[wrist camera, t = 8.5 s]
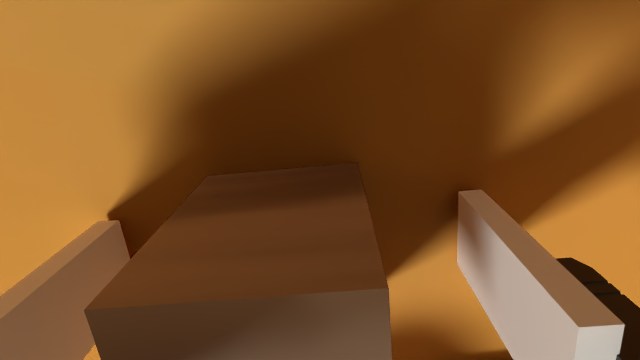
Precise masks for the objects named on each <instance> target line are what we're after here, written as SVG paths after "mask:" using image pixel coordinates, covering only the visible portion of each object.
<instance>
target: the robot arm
mask: <svg viewBox="0 0 640 360" xmlns="http://www.w3.org/2000/svg"><path fill="white" fill-rule="evenodd" d="M129 260H130V256H129V253H128V249H127V246H126V243H125V239H124V236H123V232H122V229H121V225H120V222H119V220H112V221H101V222H97V223H95V224H94V225H93V226H91V227H90V228H89V229H88V230H86V231H85V232H84V233H82V234H81V235H80V236H78V237H77V238H76V239H75V240H73V241H72V242H71V243H69V244H68V245H67V246H65V247H64V248H63V249H61V250H60V251H59V252H58V253H56V254H55V255H54V256H52V257H51V258H50V259H48V260H47V261H46V262H45V263H43V264H42V265H41V266H39V267H38V268H37V269H35V270H34V271H33V272H32V273H30V274H29V275H28V276H26V277H25V278H24V279H22V280H21V281H20V282H19V283H17V284H16V285H15V286H13V287H12V288H11V289H9V290H8V291H7V292H5V293H4V294H3V295H2V296H0V360H83V359H84V357H85V356H86V355H87V354H88V352H89V351H90V350H91V348H92V347H93V346H94V345H95V341H94V338H93V335H92V332H91V330H90V327H89V324H88V321H87V318H86V315H85V313H84V309H85V308H86V307H87V306H88V305H89V304H90V303H91V302H92V301H93V299H94V298H95V297H96V296H97V295H98V294H99V293H100V292H101V291H102V290H103V289H104V287H105V286H106V285H107V284H108V283H109V282H110V281H111V280H112V279H113V278H114V277H115V276H116V274H117V273H118V272H119V271H120V270H121V269H122V268H123V267H124V266H125V265H126V264H127V262H128V261H129ZM457 264H458V266H459V268H460V270H461V271H462V273H463V275H464V276H465V278H466V280H467V282H468V283H469V285H470V287H471V288H472V290H473V292H474V293H475V295H476V297H477V299H478V300H479V302H480V304H481V305H482V307H483V309H484V310H485V312H486V314H487V316H488V317H489V319H490V321H491V322H492V324H493V326H494V328H495V329H496V331H497V333H498V334H499V336H500V338H501V339H502V341H503V343H504V345H505V346H506V348H507V350H508V351H509V353H510V355H511V356H512V358H513V360H640V308H639V307H638V306H637V305H635V304H634V303H633V302H632V301H631V300H630V299H628V298H627V297H626V296H625V295H624V294H623V295H621V293H620V291H619V290H618V289H617V288H615V287H614V286H613V285H612V284H611V283H608V282H607V280H606V279H605V278H604V277H602V276H601V275H600V274H599V273H598V272H596V271H595V270H594V269H593V268H591V267H589V266H587V265H585V264H583V263H581V262H579V261H577V260H575V259H573V258H558V259H555V258H554V257H553V256H552V255H551V254H550V253H549V252H548V251H547V250H546V249H544V248H543V247H542V246H541V245H540V244H539V243H538V242H537V241H536V240H535V239H534V238H533V237H532V236H531V235H530V234H529V233H528V232H526V231H525V230H524V229H523V228H522V227H521V226H520V225H519V224H518V223H517V222H516V221H515V220H514V219H513V218H512V217H511V216H510V215H508V214H507V213H506V212H505V211H504V210H503V209H502V208H501V207H500V206H499V205H498V204H497V203H496V202H495V201H494V200H493V199H492V198H490V197H489V196H488V195H487V194H486V193H485V192H484V191H483V190H482V189H480V190H469V191H458V248H457Z"/></svg>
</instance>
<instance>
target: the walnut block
mask: <svg viewBox="0 0 640 360" xmlns="http://www.w3.org/2000/svg"><path fill="white" fill-rule="evenodd" d="M84 313H85V315H86V318H87V321H88V324H89V327H90V330H91V332H92V335H93V338H94V341H95V344H96V347H97V350H98V352H99V355H100V358H101V360H392V347H391V327H390V307H389V288H388V284H387V280H386V276H385V272H384V268H383V263H382V259H381V255H380V251H379V247H378V243H377V239H376V235H375V231H374V227H373V223H372V219H371V215H370V210H369V206H368V202H367V198H366V194H365V190H364V186H363V182H362V178H361V174H360V170H359V166H358V163H346V164H335V165H324V166H313V167H301V168H290V169H279V170H268V171H256V172H245V173H234V174H223V175H211V176H207V177H206V178H205V179H204V180H203V181H202V182H201V183H200V184H199V185H198V186H197V187H196V188H195V190H194V191H193V192H192V193H191V194H190V195H189V196H188V197H187V198H186V199H185V200H184V202H183V203H182V204H181V205H180V206H179V207H178V208H177V209H176V210H175V211H174V212H173V214H172V215H171V216H170V217H169V218H168V219H167V220H166V221H165V222H164V223H163V224H162V225H161V227H160V228H159V229H158V230H157V231H156V232H155V233H154V234H153V235H152V236H151V237H150V239H149V240H148V241H147V242H146V243H145V244H144V245H143V246H142V247H141V248H140V249H139V250H138V252H137V253H136V254H135V255H134V256H133V257H132V258H131V259H130V260H129V261H128V262H127V264H126V265H125V266H124V267H123V268H122V269H121V270H120V271H119V272H118V273H117V274H116V276H115V277H114V278H113V279H112V280H111V281H110V282H109V283H108V284H107V285H106V286H105V287H104V289H103V290H102V291H101V292H100V293H99V294H98V295H97V296H96V297H95V298H94V299H93V301H92V302H91V303H90V304H89V305H88V306H87V307H86V308H85V309H84Z"/></svg>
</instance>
